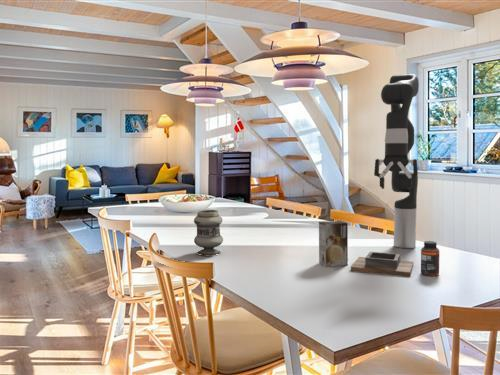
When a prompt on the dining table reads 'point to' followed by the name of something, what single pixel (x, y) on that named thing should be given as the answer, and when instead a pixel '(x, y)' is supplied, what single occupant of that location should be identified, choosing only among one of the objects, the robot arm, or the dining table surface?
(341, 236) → the coffee box
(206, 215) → the apothecary jar
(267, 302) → the dining table surface
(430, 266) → the supplement bottle
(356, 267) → the socket plate
